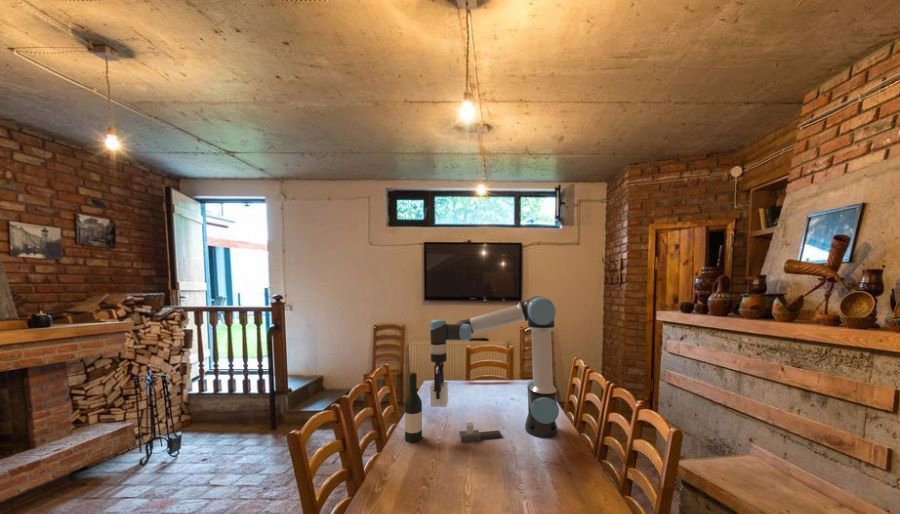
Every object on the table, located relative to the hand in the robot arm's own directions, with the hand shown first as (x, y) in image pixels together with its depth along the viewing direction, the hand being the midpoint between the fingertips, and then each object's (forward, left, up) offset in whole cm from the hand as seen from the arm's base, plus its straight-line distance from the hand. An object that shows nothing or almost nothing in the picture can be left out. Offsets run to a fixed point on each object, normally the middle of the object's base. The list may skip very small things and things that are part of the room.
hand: (439, 402), depth 153 cm
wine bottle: (+12, +2, -16) cm, 20 cm away
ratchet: (-19, -1, -16) cm, 25 cm away
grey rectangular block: (0, 0, -1) cm, 1 cm away
